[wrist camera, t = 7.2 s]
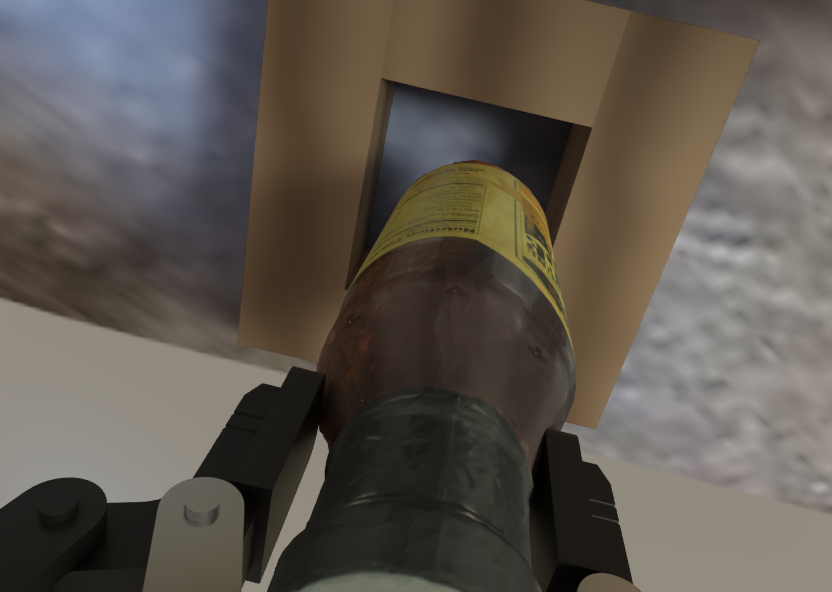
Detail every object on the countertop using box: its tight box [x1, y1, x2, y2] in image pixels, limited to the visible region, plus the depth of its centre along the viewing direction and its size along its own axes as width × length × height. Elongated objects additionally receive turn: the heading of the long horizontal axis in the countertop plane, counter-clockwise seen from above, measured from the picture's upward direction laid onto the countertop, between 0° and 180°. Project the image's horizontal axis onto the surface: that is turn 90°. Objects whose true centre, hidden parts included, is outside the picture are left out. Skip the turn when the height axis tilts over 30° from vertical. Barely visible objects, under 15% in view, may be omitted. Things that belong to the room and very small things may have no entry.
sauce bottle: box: [267, 160, 577, 592], centre depth 17 cm, size 6×6×20 cm
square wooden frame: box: [238, 0, 760, 429], centre depth 29 cm, size 18×18×5 cm
